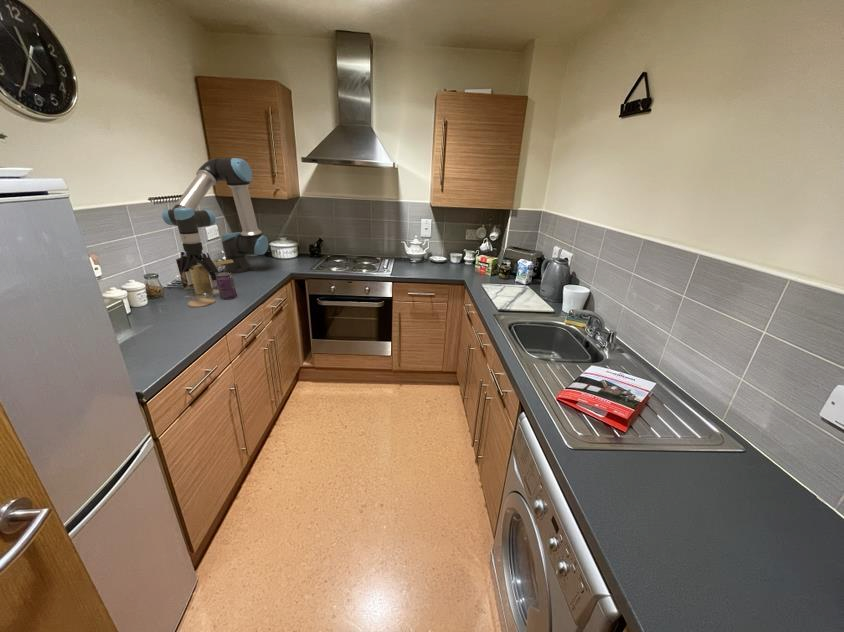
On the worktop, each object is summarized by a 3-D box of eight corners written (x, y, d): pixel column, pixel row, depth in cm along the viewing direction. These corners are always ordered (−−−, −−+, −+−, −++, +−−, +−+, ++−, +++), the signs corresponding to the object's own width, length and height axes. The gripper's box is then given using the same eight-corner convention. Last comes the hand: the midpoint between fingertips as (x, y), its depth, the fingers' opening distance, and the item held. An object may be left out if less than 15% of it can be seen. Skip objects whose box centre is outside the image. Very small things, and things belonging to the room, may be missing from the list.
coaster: (202, 298, 157) (201, 296, 156) (221, 300, 155) (220, 298, 154) (181, 306, 147) (181, 304, 147) (201, 308, 145) (201, 306, 144)
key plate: (205, 290, 168) (204, 287, 167) (224, 292, 166) (224, 289, 165) (184, 297, 157) (184, 294, 157) (205, 299, 155) (204, 297, 154)
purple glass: (233, 294, 163) (228, 271, 158) (239, 297, 159) (234, 273, 154) (218, 297, 158) (212, 274, 153) (224, 301, 154) (218, 276, 149)
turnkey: (195, 293, 159) (188, 266, 154) (236, 284, 173) (230, 259, 168) (198, 294, 157) (190, 267, 152) (238, 285, 172) (233, 260, 167)
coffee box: (183, 290, 167) (175, 259, 161) (188, 286, 173) (180, 256, 167) (203, 289, 170) (195, 259, 163) (207, 285, 175) (200, 256, 169)
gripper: (162, 242, 150) (175, 285, 158) (207, 245, 145) (218, 289, 153) (177, 239, 157) (188, 281, 165) (220, 242, 152) (230, 285, 160)
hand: (202, 285), depth 159 cm, fingers open, 13 cm apart
